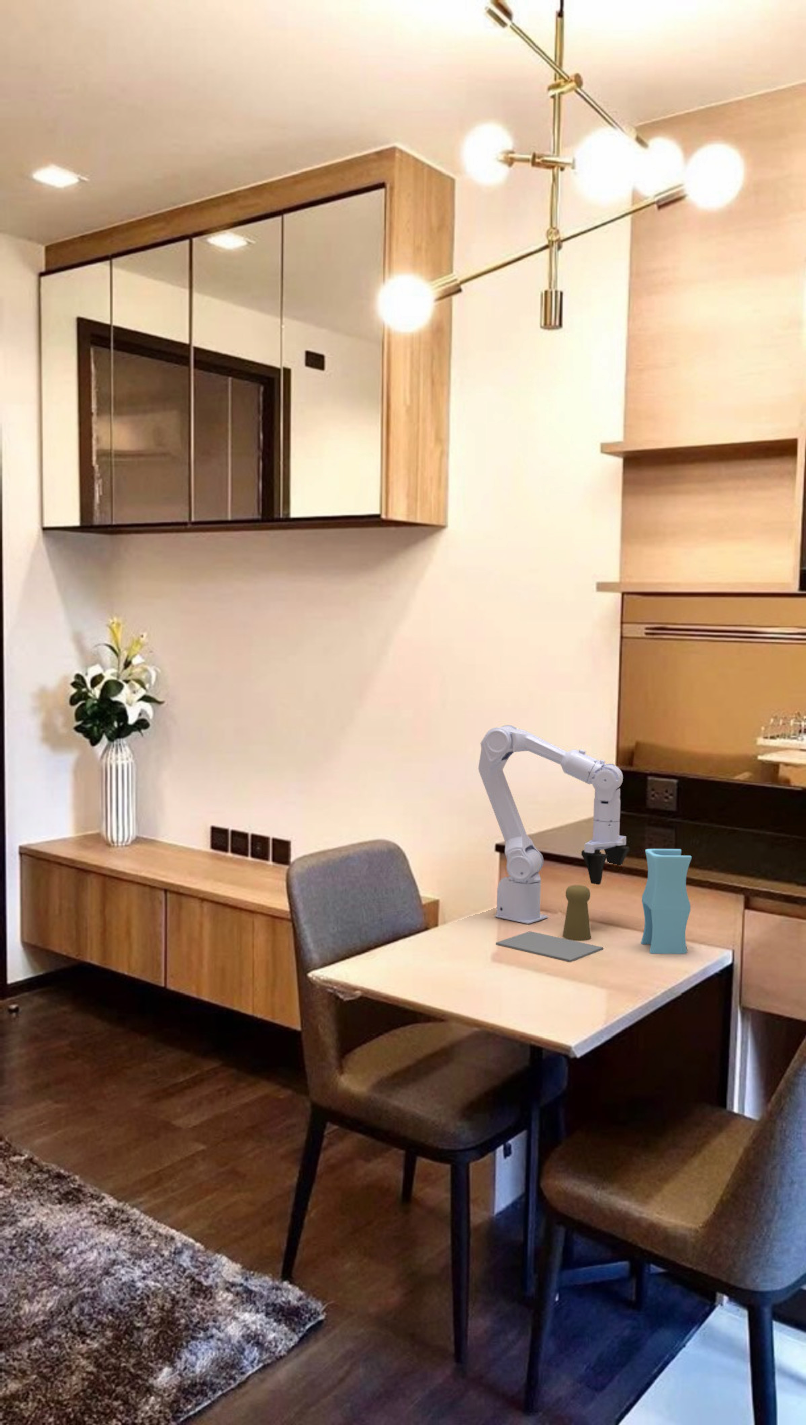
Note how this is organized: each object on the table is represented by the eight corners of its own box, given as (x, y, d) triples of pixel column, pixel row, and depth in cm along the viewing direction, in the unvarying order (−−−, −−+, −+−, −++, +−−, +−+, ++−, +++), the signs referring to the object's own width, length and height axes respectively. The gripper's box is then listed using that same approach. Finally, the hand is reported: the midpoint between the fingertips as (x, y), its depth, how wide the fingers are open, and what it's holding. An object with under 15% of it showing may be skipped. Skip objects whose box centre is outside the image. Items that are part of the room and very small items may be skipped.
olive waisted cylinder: (557, 934, 234) (559, 883, 234) (583, 932, 236) (584, 882, 235) (570, 941, 229) (571, 889, 228) (596, 939, 230) (597, 888, 230)
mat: (495, 944, 225) (495, 942, 225) (529, 933, 235) (529, 931, 235) (570, 962, 214) (570, 960, 214) (602, 949, 223) (603, 947, 223)
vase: (688, 954, 221) (692, 856, 220) (650, 953, 221) (653, 856, 219) (677, 943, 229) (680, 849, 227) (640, 943, 228) (643, 848, 227)
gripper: (605, 826, 231) (603, 889, 232) (639, 818, 242) (637, 879, 243) (576, 822, 236) (575, 884, 236) (611, 814, 247) (609, 874, 247)
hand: (604, 881), depth 240 cm, fingers open, 7 cm apart
